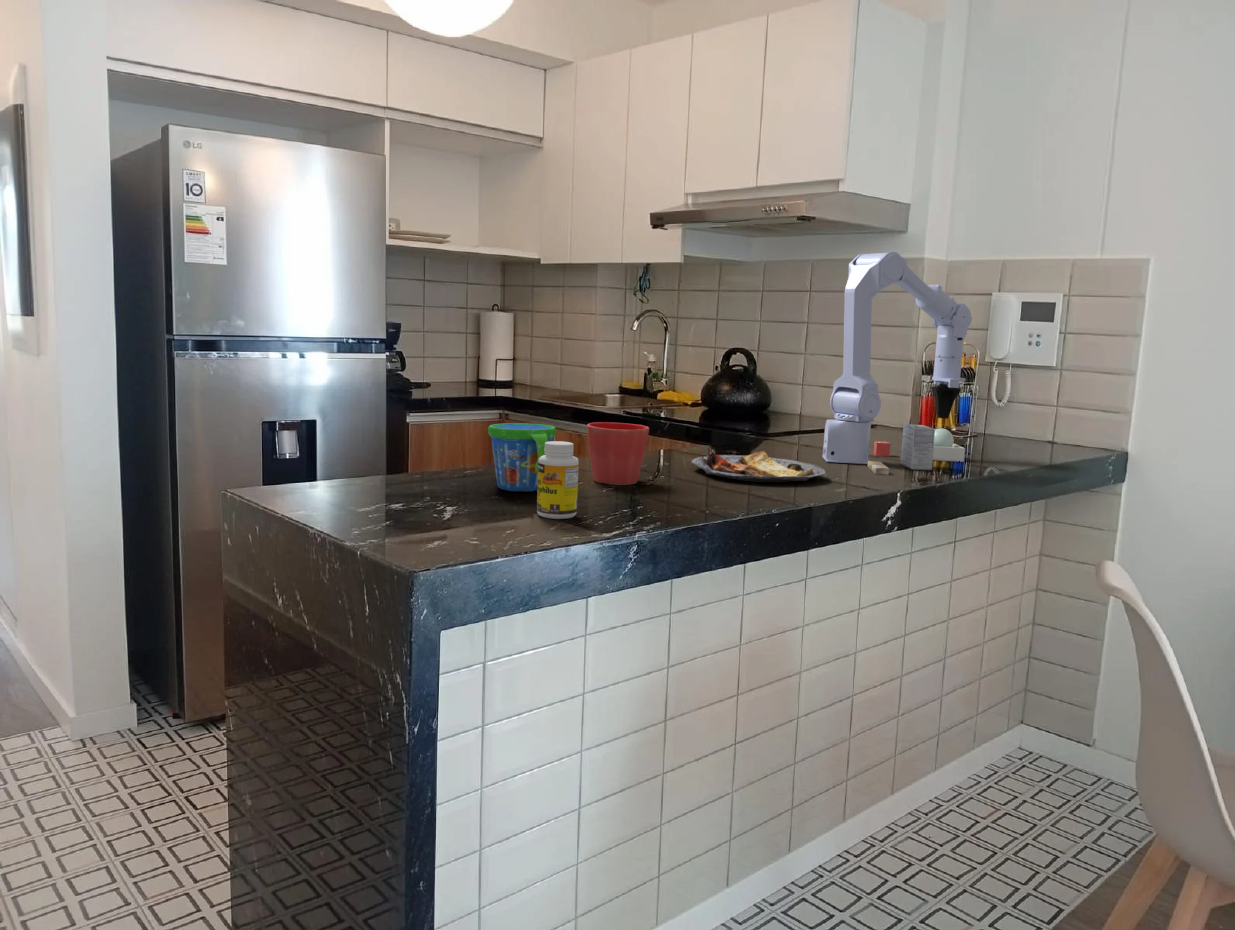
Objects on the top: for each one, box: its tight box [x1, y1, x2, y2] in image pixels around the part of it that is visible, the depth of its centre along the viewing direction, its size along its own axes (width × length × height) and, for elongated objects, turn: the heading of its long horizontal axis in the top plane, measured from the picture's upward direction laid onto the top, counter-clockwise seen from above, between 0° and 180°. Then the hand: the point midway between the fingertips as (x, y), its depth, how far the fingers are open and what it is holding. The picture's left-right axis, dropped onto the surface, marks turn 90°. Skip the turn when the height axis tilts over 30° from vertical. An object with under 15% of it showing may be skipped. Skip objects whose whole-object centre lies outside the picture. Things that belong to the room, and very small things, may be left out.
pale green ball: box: [934, 427, 955, 447], centre depth 210 cm, size 6×6×6 cm
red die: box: [873, 440, 891, 458], centre depth 210 cm, size 3×3×3 cm
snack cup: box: [487, 422, 557, 493], centre depth 147 cm, size 16×10×10 cm
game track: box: [867, 460, 890, 476], centre depth 186 cm, size 2×10×1 cm, turn 174°
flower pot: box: [586, 421, 650, 486], centre depth 159 cm, size 11×11×10 cm
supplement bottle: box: [536, 440, 580, 520], centre depth 128 cm, size 6×6×10 cm
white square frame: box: [933, 443, 966, 463], centre depth 210 cm, size 9×9×3 cm
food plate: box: [690, 450, 826, 483], centre depth 174 cm, size 25×23×4 cm
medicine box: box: [900, 424, 936, 471], centre depth 193 cm, size 8×4×9 cm, turn 179°
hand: (942, 418), depth 209 cm, fingers closed
